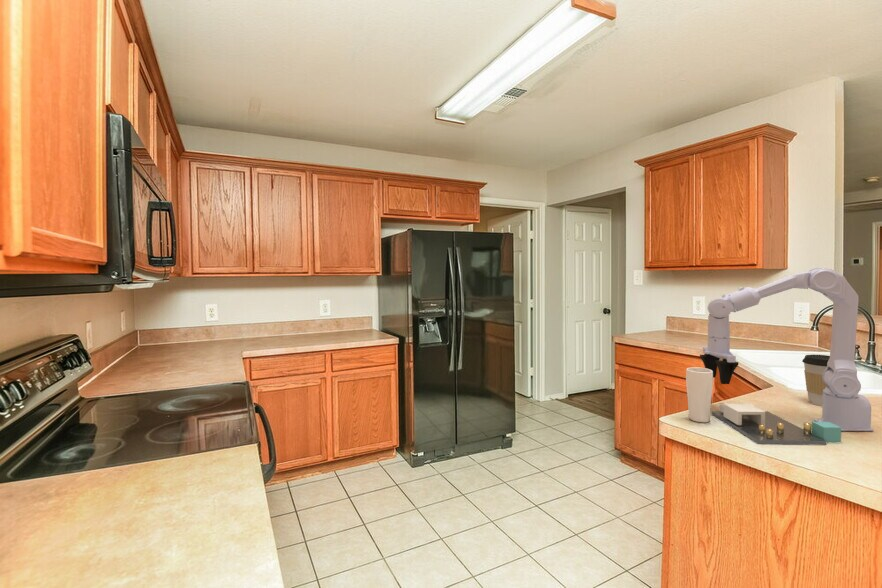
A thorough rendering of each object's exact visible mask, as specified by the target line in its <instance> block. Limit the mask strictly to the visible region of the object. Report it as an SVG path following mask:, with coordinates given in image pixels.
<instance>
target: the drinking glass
mask: <svg viewBox="0 0 882 588" xmlns="http://www.w3.org/2000/svg"><path fill="white" fill-rule="evenodd" d="M685 371H686V372H685V385H686V395H687V396H686V397H687V408H688V409H687V410H688V419H689V420H691V421H693V422H696V423H702V424H703V423H704V424H705V423H709V422H710V420H711V407H712V397H713V388H714V378H713V371H712V370H710V369H707V368H705V367H698V366H697V367H696V366H694V367H687V368H686V369H685Z"/></svg>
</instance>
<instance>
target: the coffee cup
mask: <svg viewBox="0 0 882 588" xmlns="http://www.w3.org/2000/svg"><path fill="white" fill-rule="evenodd" d="M829 358H830V355H825V354H805V355H804V358H803V359H802V361H801V362H802V363H803V364H804V380H805V386H806V387H805V388H806V391H807V397H808V398H807V399H808V403H809V404H812V405H815V406H819V407H820V406H821V407H823V390H824V389H825V388H826V386H827V385H826V384H825V383H824V382H823V380H822V374H823V372H824V371H825V370H826V368H827V363H828V360H829Z"/></svg>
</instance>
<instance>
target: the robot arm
mask: <svg viewBox="0 0 882 588" xmlns="http://www.w3.org/2000/svg"><path fill="white" fill-rule="evenodd" d="M792 289H801V290H802V289H803V290H808V289H810V290H812V291H815V292H818V293H820V294H822V295H823V296H824V297H826V298H827V299H829V300H830V301H831V302H832V305H833V306H832V318H831V320H832V321H831V332H830V333H831V336H830V337H831V338H830V348H829V349H830V350H829V356H830V358H829V360H828V363H827V368H826V370H825V371H824V372H823V374H822V380H823V382H824V383H825V384H826V385H827V386H826V388H825V389H824V390H823V406H821V407H822V411H821V413H822V414H821V418H814V419H813V422H830V423H832V424H834V425H837V426H839V427H841V432H842V431H843V432H844V431H845V432H846V431H847V432H852V431H853V432H873V431H874V428H872V427H871V426H872V424H871V423H872V405H871V402H870V400H869V399H868V398H867V397H866V396H865V395H863V394H859V393H860V391H861V390H862V383H861V382H860V380H859V378H858V370H857V367H856V366H857V365H856V363H855V359H856V358H855V355H856V342H857V341H856V340H857V328H858V315H859V313H858V312H859V294H858V293H857V292H856V291H855V289H854V288H853V287H852V286H851V284H850V283H849V281H847V278H846V277H845V276H844V275H842V274H841V273H839V272H838V271H835V270H834V269H832V268H821V267H816V268H811V269H809V270H808V271H807V270H804V271H801V272H797V273H793V274H790V275H787V276H785V277H782V278H780V279H777V280H775V281H772V282H769V283H768V284H765V285H762V286H760V287H757V288H753V287H750V286H747V287H744V286H741V287H739V288H738V290H736V291H733V292H731V293H728V294H725V293H723V294H721V295H720V296H721V297H716V298H712V299H711V300H710V301H709V302H708V305H707V311H708V313H709V314H708V316H707V319H708V321H707V346H703V347H702V353H703V354H699V358H700V359H701V361H702V363H703V366H704V368H707V369H710V370H712V371H713V379H714V378H716V376H717V370H718V373H719V374H718V375H719V381H720V384H721V385H729V384H730V382H731V380H732V377H733V374H734V372H735V370H736V369H737V367H738V366H739V362H738V361H736V359H737V356H736V355H734V354H733V353H732V352H731V351H730V347H731V346H730V341H731V336H730V334H731V333H730V332H731V331H730V329H731V323H730V314H731V313H736V312H740V311H742V310H743V311H744V310H746V309H748V308H752V307H755V306H757V305H759V303H760V301H761V299H764V298H767V297H769V296H770V297H771V296H772V295H776V294H780V293H782V292H785V291H788V290H789V291H790V290H792ZM720 359H721V360H720Z"/></svg>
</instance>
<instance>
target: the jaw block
mask: <svg viewBox="0 0 882 588" xmlns="http://www.w3.org/2000/svg"><path fill="white" fill-rule="evenodd" d="M811 424H812V430H811V433H812V434H814V435H816V436H818V437H820V438H822V439H824V440H826V442H841V443H842V431H841V427H839V426H837V425H834V424H832V423H830V422H816V421H811Z"/></svg>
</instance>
